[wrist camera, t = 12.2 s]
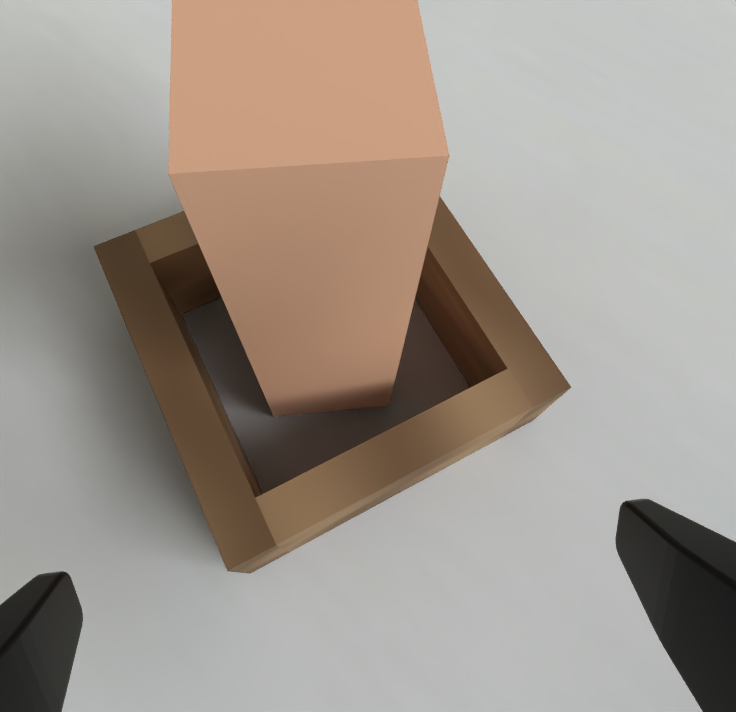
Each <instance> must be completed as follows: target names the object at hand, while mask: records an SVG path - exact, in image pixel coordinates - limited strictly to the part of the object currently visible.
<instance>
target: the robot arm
mask: <svg viewBox="0 0 736 712" xmlns="http://www.w3.org/2000/svg"><path fill="white" fill-rule="evenodd" d="M616 548H617V552H618V555H619V557H620V559H621V561H622V563H623V565H624V567H625V569H626V571H627V574H628V576H629V578H630V580H631V582H632V584H633V586H634V588H635V590H636V592H637V594H638V597H639V599H640V601H641V603H642V605H643V607H644V609H645V611H646V613H647V615H648V617H649V620H650V622H651V624H652V626H653V628H654V630H655V632H656V634H657V636H658V637H659V639H660V641H661V643H662V645H663V646H664V648H665V650H666V652H667V653H668V655H669V657H670V658H671V660H672V662H673V663H674V665H675V667H676V668H677V670H678V671H679V673H680V675H681V676H682V678H683V680H684V681H685V683H686V685H687V686H688V688H689V690H690V691H691V693H692V695H693V696H694V698H695V699H696V701H697V703H698V704H699V706H700V708H701V709H702V711H703V712H736V542H734V541H732V540H730V539H728V538H726V537H724V536H722V535H720V534H718V533H716V532H714V531H712V530H710V529H708V528H706V527H704V526H702V525H700V524H698V523H696V522H694V521H692V520H690V519H688V518H686V517H684V516H682V515H680V514H678V513H676V512H674V511H672V510H670V509H668V508H666V507H664V506H662V505H660V504H658V503H655V502H653V501H651V500H649V499H637V500H629V501H625V502H623V503H622V505H621V506H620V511H619V518H618V525H617V532H616ZM82 622H83V613H82V608H81V605H80V602H79V599H78V597H77V594H76V591H75V588H74V585H73V582H72V580H71V577H70V575H69V574H68V573H66V572H62V571H61V572H53V573H45V574H40V575H38V576H36V577H34V578H33V579H32V580H30V581H29V582H28V583H27V584H26V585H24V586H23V587H22V588H21V589H19V590H18V591H17V592H16V593H14V594H13V595H12V596H11V597H9V598H8V599H7V600H6V601H5V602H3V603H2V604H1V605H0V712H62V708H63V704H64V699H65V695H66V691H67V687H68V683H69V678H70V674H71V670H72V666H73V662H74V657H75V653H76V649H77V645H78V641H79V636H80V632H81V628H82Z"/></svg>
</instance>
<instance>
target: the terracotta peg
mask: <svg viewBox="0 0 736 712" xmlns="http://www.w3.org/2000/svg"><path fill="white" fill-rule="evenodd" d="M448 159H449V152H448V147H447V142H446V137H445V132H444V127H443V123H442V118H441V113H440V108H439V103H438V98H437V94H436V89H435V84H434V79H433V74H432V69H431V64H430V60H429V55H428V50H427V45H426V40H425V35H424V31H423V26H422V21H421V16H420V11H419V6H418V1H417V0H172V27H171V73H170V120H169V166H168V174H169V177H170V179H171V181H172V184H173V186H174V188H175V191H176V193H177V195H178V197H179V200H180V202H181V204H182V207H183V209H184V211H185V214H186V216H187V218H188V220H189V223H190V225H191V227H192V230H193V232H194V234H195V237H196V239H197V241H198V244H199V246H200V248H201V250H202V253H203V255H204V257H205V260H206V262H207V264H208V267H209V269H210V271H211V273H212V276H213V278H214V280H215V283H216V285H217V287H218V290H219V292H220V294H221V296H222V299H223V301H224V303H225V306H226V308H227V310H228V313H229V315H230V317H231V320H232V322H233V324H234V326H235V329H236V331H237V333H238V336H239V338H240V340H241V343H242V345H243V347H244V349H245V352H246V354H247V356H248V359H249V361H250V363H251V366H252V368H253V370H254V373H255V375H256V377H257V379H258V382H259V384H260V386H261V389H262V391H263V393H264V396H265V398H266V400H267V402H268V405H269V407H270V409H271V412H272V414H273V416H274V417H276V416H286V415H296V414H306V413H317V412H327V411H337V410H347V409H358V408H368V407H378V406H388V405H389V404H390V399H391V395H392V391H393V387H394V383H395V379H396V375H397V370H398V366H399V362H400V358H401V354H402V350H403V346H404V341H405V337H406V333H407V329H408V325H409V321H410V317H411V312H412V308H413V304H414V300H415V296H416V292H417V288H418V283H419V279H420V275H421V271H422V267H423V263H424V259H425V254H426V250H427V246H428V242H429V238H430V234H431V230H432V225H433V221H434V217H435V213H436V209H437V205H438V201H439V196H440V192H441V188H442V184H443V180H444V176H445V172H446V167H447V163H448Z"/></svg>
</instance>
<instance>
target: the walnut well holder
mask: <svg viewBox="0 0 736 712" xmlns="http://www.w3.org/2000/svg"><path fill="white" fill-rule="evenodd" d="M94 248H95V251H96V253H97V256H98V258H99V261H100V263H101V265H102V268H103V270H104V273H105V275H106V278H107V280H108V282H109V285H110V287H111V290H112V292H113V294H114V297H115V299H116V302H117V304H118V307H119V309H120V311H121V314H122V316H123V319H124V321H125V324H126V326H127V328H128V331H129V333H130V336H131V338H132V341H133V343H134V345H135V348H136V350H137V353H138V355H139V357H140V360H141V362H142V365H143V367H144V370H145V372H146V374H147V377H148V379H149V382H150V384H151V387H152V389H153V391H154V394H155V396H156V399H157V401H158V403H159V406H160V408H161V411H162V413H163V416H164V418H165V420H166V423H167V425H168V428H169V430H170V433H171V435H172V437H173V440H174V442H175V445H176V447H177V450H178V452H179V454H180V457H181V459H182V462H183V464H184V466H185V469H186V471H187V474H188V476H189V479H190V481H191V483H192V486H193V488H194V491H195V493H196V496H197V498H198V500H199V503H200V505H201V508H202V510H203V513H204V515H205V517H206V520H207V522H208V525H209V527H210V529H211V532H212V534H213V537H214V539H215V542H216V544H217V546H218V549H219V551H220V554H221V556H222V559H223V561H224V563H225V566H226V568H227V571H232V572H241V573H252V572H254V571H255V570H257V569H259V568H261V567H263V566H265V565H266V564H268V563H270V562H272V561H274V560H276V559H278V558H279V557H281V556H283V555H285V554H287V553H289V552H290V551H292V550H294V549H296V548H298V547H300V546H302V545H303V544H305V543H307V542H309V541H311V540H313V539H315V538H316V537H318V536H320V535H322V534H324V533H326V532H327V531H329V530H331V529H333V528H335V527H337V526H339V525H340V524H342V523H344V522H346V521H348V520H350V519H351V518H353V517H355V516H357V515H359V514H361V513H363V512H364V511H366V510H368V509H370V508H372V507H374V506H376V505H377V504H379V503H381V502H383V501H385V500H387V499H388V498H390V497H392V496H394V495H396V494H398V493H400V492H401V491H403V490H405V489H407V488H409V487H411V486H412V485H414V484H416V483H418V482H420V481H422V480H424V479H425V478H427V477H429V476H431V475H433V474H435V473H437V472H438V471H440V470H442V469H444V468H446V467H448V466H449V465H451V464H453V463H455V462H457V461H459V460H461V459H462V458H464V457H466V456H468V455H470V454H472V453H473V452H475V451H477V450H479V449H481V448H483V447H485V446H486V445H488V444H490V443H492V442H494V441H496V440H498V439H499V438H501V437H503V436H505V435H507V434H509V433H510V432H512V431H514V430H516V429H518V428H520V427H522V426H523V425H525V424H527V423H529V422H531V421H533V420H534V419H535V418H536V417H538V416H539V415H540V414H541V413H542V412H543V411H544V410H546V409H547V408H548V407H549V406H550V405H551V404H552V403H554V402H555V401H556V400H557V399H558V398H559V397H560V396H562V395H563V394H564V393H565V392H566V391H567V390H568V389H570V388H571V386H570V385H569V383H568V382H567V380H566V379H565V378H564V376H563V375H562V373H561V372H560V370H559V369H558V367H557V366H556V364H555V363H554V362H553V360H552V359H551V357H550V356H549V354H548V353H547V351H546V350H545V348H544V347H543V346H542V344H541V343H540V341H539V340H538V338H537V337H536V335H535V334H534V333H533V331H532V330H531V328H530V327H529V325H528V324H527V322H526V321H525V319H524V318H523V317H522V315H521V314H520V312H519V311H518V309H517V308H516V306H515V305H514V303H513V302H512V301H511V299H510V298H509V296H508V295H507V293H506V292H505V290H504V289H503V287H502V286H501V285H500V283H499V282H498V280H497V279H496V277H495V276H494V274H493V273H492V271H491V270H490V269H489V267H488V266H487V264H486V263H485V261H484V260H483V258H482V257H481V255H480V254H479V253H478V251H477V250H476V248H475V247H474V245H473V244H472V242H471V241H470V239H469V238H468V237H467V235H466V234H465V232H464V231H463V229H462V228H461V226H460V225H459V223H458V222H457V221H456V219H455V218H454V216H453V215H452V213H451V212H450V210H449V209H448V208H447V206H446V205H445V203H444V202H443V200H442V199H441V197H440V196H439V201H438V205H437V209H436V213H435V217H434V221H433V225H432V230H431V234H430V238H429V242H428V246H427V250H426V254H425V259H424V263H423V267H422V271H421V275H420V279H419V283H418V288H417V292H416V296H415V299H416V301H417V302H418V304H419V305H420V307H421V309H422V310H423V312H424V313H425V315H426V317H427V318H428V320H429V322H430V323H431V325H432V326H433V328H434V330H435V331H436V333H437V334H438V336H439V338H440V339H441V341H442V342H443V344H444V346H445V347H446V349H447V350H448V352H449V354H450V355H451V357H452V359H453V360H454V362H455V363H456V365H457V367H458V368H459V370H460V371H461V373H462V375H463V376H464V378H465V379H466V381H467V383H468V384H469V386H470V387H471V388H469V389H467V390H465V391H463V392H461V393H459V394H457V395H455V396H453V397H451V398H449V399H447V400H445V401H443V402H441V403H439V404H437V405H436V406H434V407H432V408H430V409H428V410H426V411H424V412H422V413H420V414H418V415H416V416H414V417H412V418H410V419H408V420H406V421H404V422H402V423H400V424H398V425H397V426H395V427H393V428H391V429H389V430H387V431H385V432H383V433H381V434H379V435H377V436H375V437H373V438H371V439H369V440H367V441H365V442H363V443H361V444H359V445H358V446H356V447H354V448H352V449H350V450H348V451H346V452H344V453H342V454H340V455H338V456H336V457H334V458H332V459H330V460H328V461H326V462H324V463H322V464H320V465H319V466H317V467H315V468H313V469H311V470H309V471H307V472H305V473H303V474H301V475H299V476H297V477H295V478H293V479H291V480H289V481H287V482H285V483H283V484H281V485H280V486H278V487H276V488H274V489H272V490H270V491H268V492H266V493H264V494H262V491H261V489H260V487H259V485H258V483H257V480H256V478H255V476H254V474H253V472H252V469H251V467H250V465H249V463H248V461H247V458H246V456H245V454H244V452H243V450H242V447H241V445H240V443H239V441H238V439H237V436H236V434H235V432H234V430H233V428H232V425H231V423H230V421H229V419H228V416H227V414H226V412H225V410H224V408H223V405H222V403H221V401H220V399H219V397H218V394H217V392H216V390H215V388H214V386H213V383H212V381H211V379H210V377H209V375H208V372H207V370H206V368H205V366H204V364H203V361H202V359H201V357H200V355H199V353H198V350H197V348H196V346H195V344H194V342H193V339H192V337H191V335H190V333H189V331H188V328H187V326H186V324H185V322H184V320H183V317H182V315H181V314H182V313H184V312H187V311H189V310H191V309H194V308H196V307H198V306H201V305H203V304H205V303H208V302H210V301H212V300H215V299H217V298H219V297H222V296H221V294H220V292H219V290H218V287H217V285H216V283H215V280H214V278H213V276H212V273H211V271H210V269H209V267H208V264H207V262H206V260H205V257H204V255H203V253H202V250H201V248H200V246H199V244H198V241H197V239H196V237H195V234H194V232H193V230H192V227H191V225H190V223H189V220H188V218H187V216H186V214H185V211H183V212H181V213H178V214H176V215H173V216H170V217H168V218H165V219H163V220H160V221H158V222H155V223H152V224H150V225H147V226H145V227H142V228H140V229H137V230H135V231H132V232H129V233H127V234H124V235H122V236H119V237H117V238H114V239H111V240H109V241H106V242H104V243H101V244H99V245H96V246H94Z"/></svg>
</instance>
